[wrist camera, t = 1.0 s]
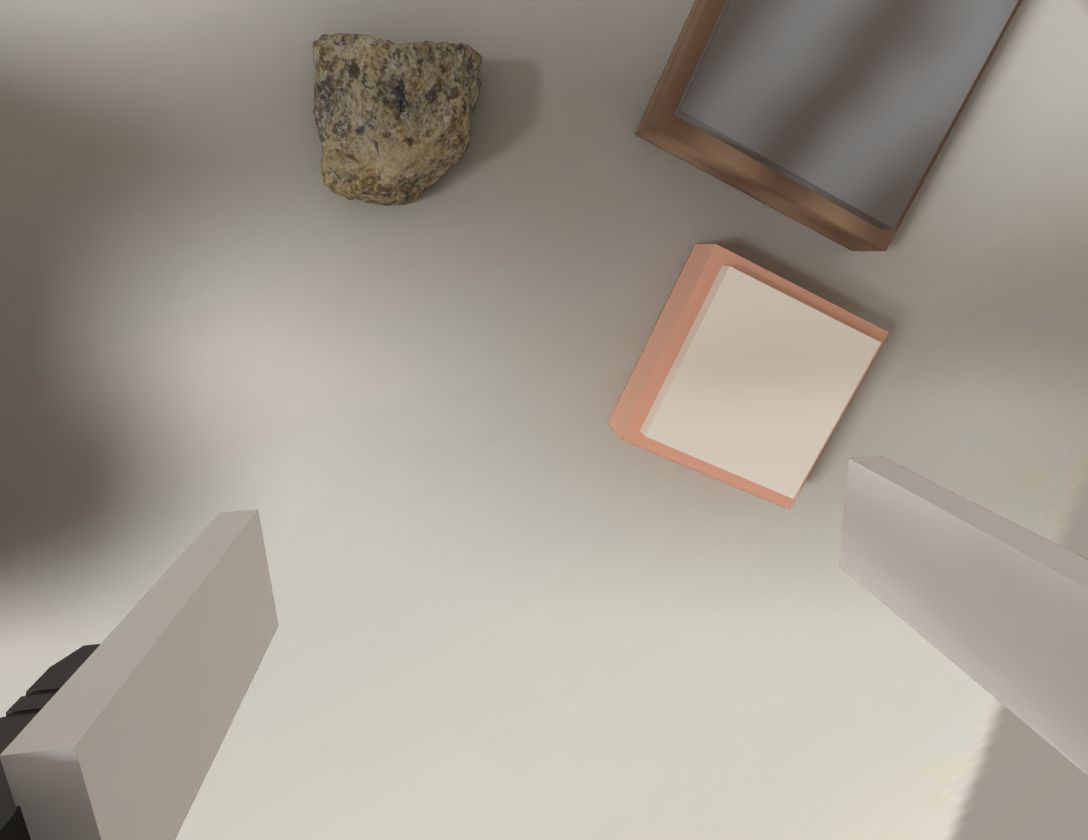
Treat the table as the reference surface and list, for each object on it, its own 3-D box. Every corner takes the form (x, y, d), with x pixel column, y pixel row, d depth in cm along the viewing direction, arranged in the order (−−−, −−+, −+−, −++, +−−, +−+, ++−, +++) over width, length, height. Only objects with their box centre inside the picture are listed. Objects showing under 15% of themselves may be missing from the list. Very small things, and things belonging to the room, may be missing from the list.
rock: (475, 213, 33) (477, 208, 29) (318, 200, 32) (296, 192, 28) (482, 61, 32) (485, 31, 27) (316, 42, 31) (292, 8, 26)
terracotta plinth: (607, 423, 37) (624, 444, 33) (694, 244, 35) (723, 243, 31) (765, 490, 39) (798, 516, 36) (856, 325, 37) (901, 334, 33)
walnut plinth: (635, 134, 33) (657, 119, 29) (764, -154, 30) (808, -211, 27) (852, 250, 36) (898, 250, 32) (986, -2, 33) (1054, -34, 30)
